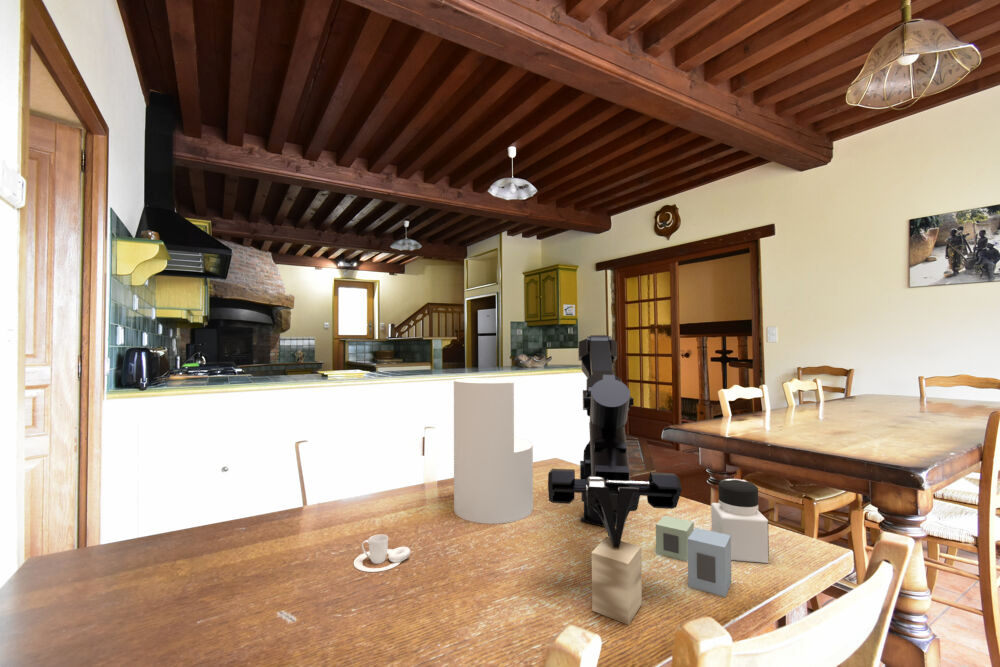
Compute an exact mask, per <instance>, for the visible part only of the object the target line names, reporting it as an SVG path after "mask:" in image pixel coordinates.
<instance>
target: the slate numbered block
mask: <svg viewBox="0 0 1000 667" xmlns="http://www.w3.org/2000/svg"><path fill="white" fill-rule="evenodd" d="M687 577H688V578H687V583H688V585H687V587H688V588H691V589H696V590H699V591H702V592H706V593H709V594H712V595H716V596H719V597H723V598H726V597H727V595H728V593H729V589H730V587H731V585H732V560H731V535H727V534H722V533H718V532H713V531H712V530H707V529H704V528H697V527H694V530H693V532H692V533H691V535H690V536H689V538H688V561H687Z"/></svg>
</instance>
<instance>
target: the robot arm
mask: <svg viewBox="0 0 1000 667" xmlns="http://www.w3.org/2000/svg"><path fill="white" fill-rule="evenodd" d="M577 347H578V352H577V354H578V359H577V360H578V362H579V361H580V362H581V371H582V372H583V374H584V376H585V377H586V386H585V387H586V389H582V410H583V411H586V416H587V417H589V423H588V424H589V426H588V427H589V441H588V443H587V444H586V445H585V447H584V449H583V456H582V457H583V460H580V461H579V478H576V471H575V469H573V468H572V469H571V468H568V469H567V468H551V469H550V470H549V471H548V474H547V490H548V492H547V493H548V501H549V502H550V503H552V504H565V505H566V504H568V505H570V504H571V503H572V502H573V501H575V495H576V494H577V493H578V494H581V495H580V496H581V502H583V516H581V517H580V519H579V520H580V521H581V522H585V523H587V524H588V523H589V524H592V525H596V526H600V527H603V528H605V531H606V533H607V535H608V536H607V537H609V538H610V540H611V543H612V545H613V547H617V548H619V547H620V542H621V541H622V536H623V532H624V528H625V523H626V521H627V519H628V515H629V514H630V512H636V511H637V510H638V509H639V508H638V507H639V503H640V497H641V496H644V497H646V498H647V503H648V505H650V506H651V507H652V508H654V509H667V510H668V509H669V510H670V509H671V510H672V509H675V508H677V506H678V503H679V500H680V497H681V494H682V490H683V489H682V482H681V479H680V477H679V476H678V475H676V474H675V473H674V472H673V473H672V472H649V477H648V481H643V480H641V481H638V480H636V481H635V480H631V471H630V469H631V468H630V462H629V454H628V446H627V444H628V443H627V437H626V428H625V426H626V424H627V422H628V413H629V410H630V409H631V407H632V406H635V404H634V398H633V397H632V396H631V392H630V389H629V387H628V386H627V385H626V384H625V383H624V382H623V380H622V379H621V378H620V377H618V376H617V375H615V373H614V361H617V359H618V345H617V341H616V340H614V339H612V336H609V335H608V334H607V335H605V334H604V335H602V334H598V335H595V334H594V335H593V334H592V335H588V336H586V338H585V339H582V340H580V341H578V346H577ZM575 493H576V494H575Z"/></svg>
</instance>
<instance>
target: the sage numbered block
mask: <svg viewBox="0 0 1000 667" xmlns="http://www.w3.org/2000/svg"><path fill="white" fill-rule="evenodd" d="M694 523H695V522H694V521H692V520H687V519H682V518H678V517H673V516H668V515H663V516H662V517H661V518H660V520H658V521H657V523H655V553H656V554H657V555H660V556H664V557H668V558H672V559H675V560H680V561H683V562H688V538H689V536H690V535H691V533H692V532H693V530H694V529H695V527H694V526H695V524H694Z"/></svg>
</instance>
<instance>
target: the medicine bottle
mask: <svg viewBox="0 0 1000 667" xmlns="http://www.w3.org/2000/svg"><path fill="white" fill-rule="evenodd" d="M710 506H711V508H710V509H711V513H710V514H711V531H713V532H718V533H722V534H727V535H731V561H734V562H735V561H736V562H750V563H760V564H761V563H762V564H768V563H769V562H770V554H769V553H770V552H769V550H770V547H769V546H770V545H769V540H770V539H769V537H770V536H769V520H768V519H767V518H766V517H765V516H764V515H763V514H762V513H761V512H760V511H759V488H758V487H757V485H756V484H754V483H752V482H751V481H747V480H744V479H739V478H727V479H723V480H720V481H719V482H718V502H711V504H710Z"/></svg>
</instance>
